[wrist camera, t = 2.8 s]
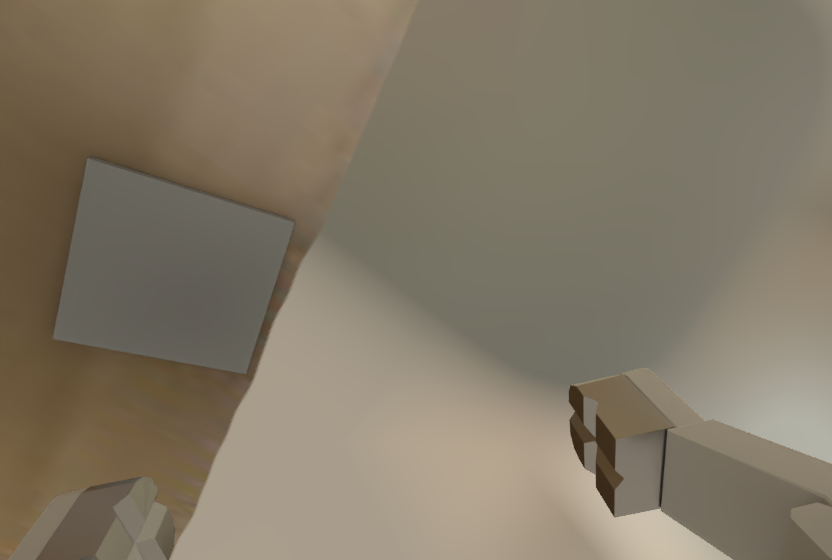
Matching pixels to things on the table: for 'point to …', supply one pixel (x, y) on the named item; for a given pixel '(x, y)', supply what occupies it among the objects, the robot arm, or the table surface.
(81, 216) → the pad
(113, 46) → the table surface
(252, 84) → the table surface
